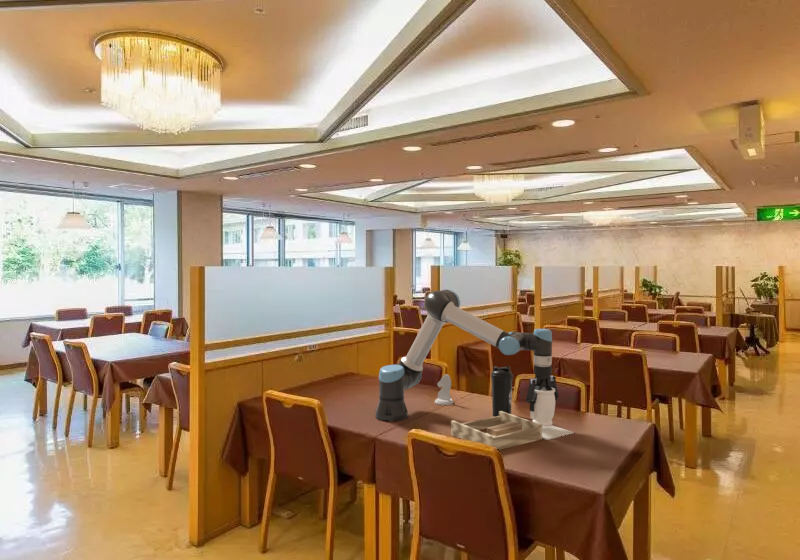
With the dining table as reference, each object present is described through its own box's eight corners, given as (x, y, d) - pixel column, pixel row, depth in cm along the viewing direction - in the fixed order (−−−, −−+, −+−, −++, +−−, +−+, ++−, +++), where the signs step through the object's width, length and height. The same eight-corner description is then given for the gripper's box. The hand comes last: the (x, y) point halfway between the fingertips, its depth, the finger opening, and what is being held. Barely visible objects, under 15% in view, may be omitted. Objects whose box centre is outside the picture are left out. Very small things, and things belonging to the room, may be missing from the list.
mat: (512, 427, 230) (512, 426, 230) (537, 421, 238) (537, 420, 238) (547, 440, 213) (547, 438, 213) (573, 433, 221) (573, 432, 221)
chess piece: (441, 399, 278) (442, 371, 278) (457, 402, 272) (457, 373, 271) (430, 403, 270) (430, 374, 270) (446, 406, 264) (446, 376, 264)
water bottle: (512, 419, 242) (513, 369, 241) (490, 417, 244) (490, 368, 243) (512, 413, 252) (512, 365, 251) (491, 412, 254) (491, 364, 253)
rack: (450, 435, 219) (451, 420, 219) (500, 424, 234) (500, 410, 234) (490, 452, 199) (490, 436, 199) (541, 439, 214) (541, 424, 214)
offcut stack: (482, 443, 210) (482, 428, 209) (513, 435, 220) (513, 421, 220) (493, 447, 205) (493, 432, 204) (524, 439, 215) (524, 424, 215)
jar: (526, 419, 230) (526, 385, 230) (549, 419, 231) (549, 385, 231) (534, 427, 220) (535, 391, 219) (559, 426, 220) (559, 391, 220)
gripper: (530, 369, 215) (530, 423, 216) (567, 363, 228) (567, 414, 228) (517, 366, 222) (516, 418, 222) (554, 361, 234) (553, 410, 235)
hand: (542, 416), depth 225 cm, fingers closed on jar, 10 cm apart
